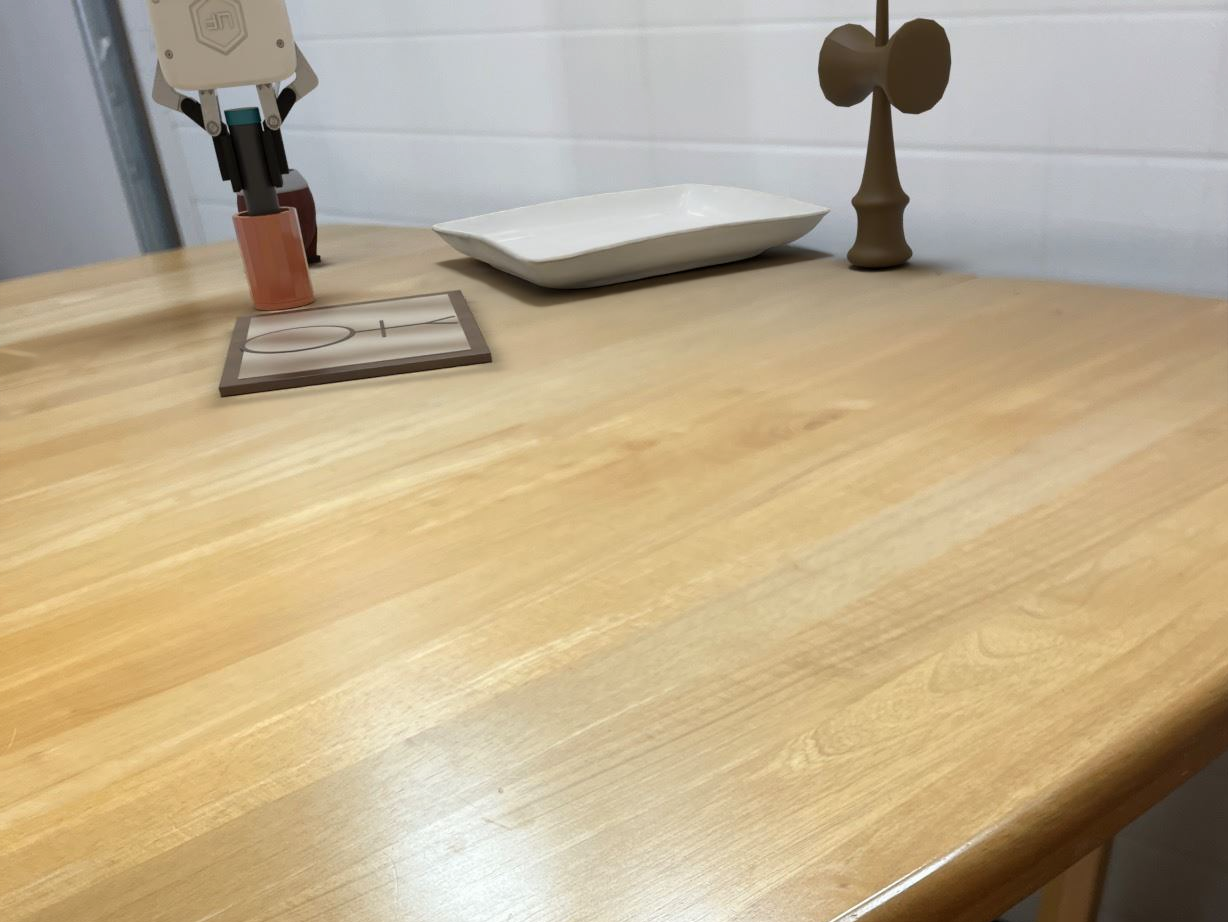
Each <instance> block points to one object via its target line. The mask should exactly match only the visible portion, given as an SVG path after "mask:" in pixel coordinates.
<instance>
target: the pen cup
mask: <svg viewBox="0 0 1228 922" xmlns="http://www.w3.org/2000/svg"><path fill="white" fill-rule="evenodd" d="M280 211H281V213H276V214H270V215H262V216H249V215H248V211H243V212H239V213H238V212H237V213H234V214H232V215H231V219H232V223H233V228H234V232H235V235H236V240H237V244H238V249H239V253H240V257H241V261H242V265H243V270H244V274H245V278H246V282H247V287H248V291H249V294H250V299H251V302H252V305H253V308H254V309H256V310H260V311H279V310H280V311H281V310H286V309H287V310H288V309H293V308H298V307H303V306H307V305H309V304H311V303H313V302H314V301H316V299H315V294H314V293H315V292H314V286H313V282H312V278H311V277H312V276H311V274H310V268H309V263H307V258H306V253H305V249H304V244H303V239H302V234H301V230H300V225H299V220H298V216H297V211H296V208H294V207H280Z"/></svg>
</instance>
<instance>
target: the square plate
mask: <svg viewBox="0 0 1228 922" xmlns="http://www.w3.org/2000/svg"><path fill="white" fill-rule="evenodd" d="M830 212H831V209H830V208H829V207H826V206H823V205H818V204H814V203H810V202H806V201H802V200H798V199H795V198H791V197H787V196H783V195H779V194H775V193H770V192H765V191H760V190H755V189H751V188H744V187H737V186H728V185H718V184H717V185H715V184H705V183H697V182H696V183H695V182H694V183H693V182H689V183H680V184H674V185H666V186H658V187H650V188H641V189H640V188H639V189H631V190H624V191H616V192H615V191H614V192H605V193H598V194H591V195H583V196H578V197H577V196H576V197H572V198H571V197H570V198H565V199H564V198H563V199H558V200H552V201H547V202H541V203H535V204H530V205H529V204H528V205H526V206H525V205H524V206H521V207H520V206H519V207H514V208H509V209H504V210H500V211H499V210H498V211H494V212H489V213H485V214H480V215H474V216H471V217H464V218H460V219H455V220H449V221H444V222H438V223H435V224H433V225H431V231H433V232H434V233H435V234H437V235H438V236H439V237H440V238H441V239H442V240H443V241H444V242H445V243H446V244H447V245H449V246H450V247H452V248H453V249H454V250H456V251H457V252H459V253H460V254H463V255H465V256H468V257H470V258H473V259H476V260H479V261H481V262H484V263H486V264H488V265H489V266H491V267H492V268H494V269H497V270H499V271H501V272H504V273H506V274H509V275H512V276H515V277H517V278H520V279H522V280H524V281H527V282H529V283H531V284H534V285H537V286H539V287H542V288H548V289H560V290H569V289H572V290H573V289H588V288H595V287H602V286H609V285H614V284H619V283H624V282H630V281H635V280H641V279H644V278H649V277H656V276H660V275H661V276H662V275H666V274H671V273H672V274H673V273H677V272H682V271H688V270H692V269H698V268H702V267H708V266H709V267H710V266H715V265H721V264H726V263H733V262H738V261H741V260H745V259H749V258H753V257H756V256H758V255H760V254H762V253H764V252H765V251H766V250H767V249H771V248H777V247H782V246H784V245H787V244H790V243H793V242H795V241H797V240H799V239H801V238H803V237H805V236H806V235H807V234H809V233H810V232H811V231H813V230H814V229H815V228H816V226H818V224H819V223H820V222H821V221H822V220H823V219H824V217H825V216H827V215H828V214H829V213H830Z"/></svg>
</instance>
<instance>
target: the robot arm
mask: <svg viewBox="0 0 1228 922" xmlns="http://www.w3.org/2000/svg"><path fill="white" fill-rule="evenodd" d="M145 4H146V8H147V13H148V18H149V23H150V27H151V32H152V36H153V42H154V47H155V51H156V55H157V61H156V66H155V67H156V69H155V74H154V78H153V79H154V80H153V85H152V92H151V98H152V100H153V101H154V103H156V104H157V105H160V106H163V107H165V108H168V109H171V110H172V111H175V112H178V113H181V114H184V115H185V116H186V117H188V118H189V119H190V120H191V121H193V122H194V123H195V124H196V125H198V126H199V127H200V128H201V129H203V130H204V131H205V132H206V133H207V134H208V136H210V137H211V140H212V143H213V148H214V153H215V156H216V161H217V164H218V170H219V173H220V178H221V180H222V182H227V181H230V185H231V189H232V193H236V192H240V191H241V190H242V189H243V188H242V183H241V179H240V175H239V170H238V166H237V162H236V157H235V153H234V149H233V144H232V140H231V136H230V133H229V129H228V125H227V123H225V122H223V116H222V110H221V105H220V99H219V94H218V89H226V88H227V89H228V88H237V87H238V88H239V87H246V86H255V88H256V92H257V96H258V99H259V103H260V107H261V110H262V114H263V117H264V118H263V121H261V124H262V128H263V132H262V138H263V143H264V147H265V152H266V156H267V161H268V165H269V170H270V174H271V179H272V183H273V187H274V186H276V188H281V187H283V178H282V175H283V174H289V169H290V168H289V162H288V157H287V154H286V149H285V144H284V140H283V135H282V134H283V133H282V131H281V130H282V129H281V126H282V125H283V123H284V122H285V120H286V119H287V117H288V115H289V113H290V112H291V110H292V109H293V106H294V105H295V104H296V103H297V102H299V101H300V100H301V99H303V98H304V97H305V96H307V95H308V94H310V93H311V92H312V91H314V90H315V89H316V88H318V86H319V84H320V83H319V78H318V76H317V74H316V72H315V70H314V69H313V68H312V66H311V64H310V63H309V61H308V60H307V58H306V57H305V54H304V53H303V52H302V50H301V49H300V47H299V46H298V44H297V43H296V40H295V39H294V35H293V34H294V33H293V30H292V26H291V22H290V17H289V13H288V9H287V4H286V1H285V0H145ZM294 74H295V79H294V80H293V81H291V82H290V83H288V84H287V85H285V87H283V88H282V90H281V91H280V92H279V94H278V98H277V97H276V93H275V89H274V85H275V82H279V81H281V82H283V81H285V80H287V79H289V78H291V76H293V75H294ZM177 90H180V91H187V92H191V91H194V92H195V91H197V92H198V98H199V101H198V100H197V99H196V98H193V97H192V96H188V95H186V94H183V93H181V92H179V91H177Z"/></svg>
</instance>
